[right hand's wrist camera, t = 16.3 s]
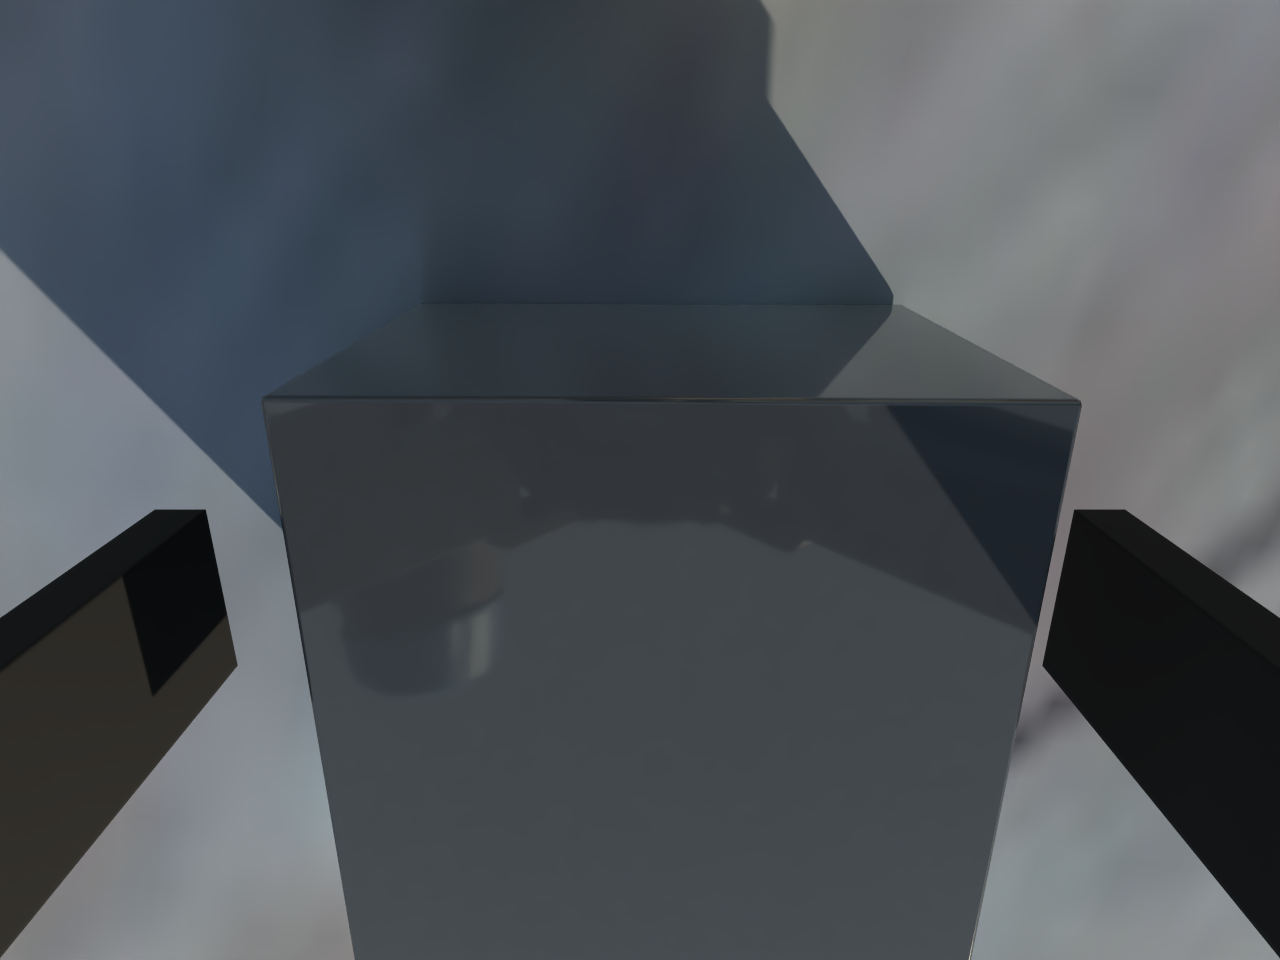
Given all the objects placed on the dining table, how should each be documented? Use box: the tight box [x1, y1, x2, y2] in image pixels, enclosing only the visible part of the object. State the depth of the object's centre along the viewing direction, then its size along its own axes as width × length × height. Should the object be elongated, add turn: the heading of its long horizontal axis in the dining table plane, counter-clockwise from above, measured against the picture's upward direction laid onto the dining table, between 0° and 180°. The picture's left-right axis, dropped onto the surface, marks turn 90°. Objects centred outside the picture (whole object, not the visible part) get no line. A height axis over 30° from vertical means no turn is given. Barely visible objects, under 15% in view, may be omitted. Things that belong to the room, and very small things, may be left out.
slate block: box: [261, 303, 1082, 960], centre depth 12 cm, size 8×8×6 cm
